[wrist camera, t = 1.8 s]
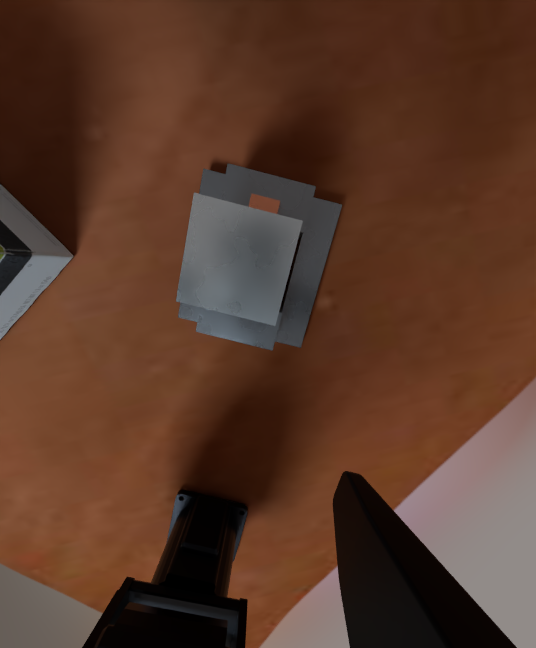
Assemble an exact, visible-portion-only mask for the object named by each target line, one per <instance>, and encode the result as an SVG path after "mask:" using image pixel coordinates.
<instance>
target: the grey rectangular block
mask: <svg viewBox="0 0 536 648" xmlns="http://www.w3.org/2000/svg"><path fill="white" fill-rule="evenodd" d="M302 222H303V221H302V220H298V219H294V218H290V217H286V216H282V215H278V214H275V213H271V212H267V211H263V210H259V209H255V208H251V207H248V206H244V205H240V204H236V203H232V202H228V201H224V200H220V199H217V198H213V197H209V196H205V195H201V194H197V193H194V196H193V202H192V208H191V214H190V220H189V226H188V232H187V238H186V244H185V250H184V256H183V262H182V268H181V274H180V280H179V286H178V292H177V298H176V301H177V302H181V303H185V304H189V305H193V306H197V307H201V308H205V309H209V310H213V311H217V312H221V313H225V314H229V315H233V316H237V317H241V318H245V319H249V320H253V321H257V322H261V323H265V324H269V325H273V326H275V325H276V322H277V318H278V314H279V310H280V306H281V302H282V299H283V295H284V291H285V287H286V283H287V280H288V276H289V272H290V268H291V264H292V260H293V257H294V253H295V249H296V245H297V241H298V238H299V234H300V230H301V226H302Z"/></svg>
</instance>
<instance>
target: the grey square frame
mask: <svg viewBox="0 0 536 648" xmlns="http://www.w3.org/2000/svg"><path fill="white" fill-rule="evenodd" d="M315 189H316V186H313V185H309V184H305V183H301V182H297V181H293V180H290V179H286V178H282V177H278V176H274V175H270V174H267V173H263V172H259V171H255V170H251V169H247V168H244V167H240V166H236V165H232V164H227V170H226V174H222V173H219V172H215V171H211V170H207V169H203V175H202V180H201V186H200V192H199V194H201V195H205V196H209V197H213V198H217V199H220V200H224V201H228V202H232V203H236V204H240V205H244V206H248V207H251V208H255V209H259V210H263V211H267V212H271V213H275V214H278V215H282V216H286V217H290V218H294V219H298V220H302V221H303V222H302V226H301V230H300V234H299V238H300V237H301V238H300V242H299V246H298V250H297V254H296V257H295V261H294V265H293V269H292V272H291V276H290V280H289V284H288V288H287V291H286V295H285V299H284V303H283V307H282V305H281V306H280V310H279V314H278V318H277V322H276V325H275V326H273V325H269V324H265V323H261V322H257V321H253V320H249V319H245V318H241V317H237V316H233V315H229V314H225V313H221V312H217V311H213V310H209V309H205V308H201V307H197V306H193V305H189V304H185V303H180V309H179V315H178V317H179V318H183V319H187V320H191V321H195V322H198V323H197V328H196V332H200V333H204V334H208V335H212V336H216V337H220V338H224V339H228V340H232V341H236V342H240V343H244V344H248V345H252V346H256V347H260V348H264V349H268V350H272V351H273V347H274V343H275V341H276V342H280V343H284V344H288V345H292V346H296V347H300V348H301V345H302V341H303V338H304V334H305V331H306V328H307V324H308V321H309V317H310V314H311V310H312V307H313V304H314V300H315V297H316V293H317V290H318V286H319V283H320V279H321V276H322V273H323V269H324V266H325V262H326V259H327V255H328V252H329V249H330V245H331V242H332V238H333V235H334V231H335V228H336V225H337V221H338V218H339V214H340V211H341V207H342V204H338V203H334V202H330V201H326V200H322V199H318V198H315V197H313V196H314V192H315ZM299 238H298V239H299Z"/></svg>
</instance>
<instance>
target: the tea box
mask: <svg viewBox="0 0 536 648" xmlns="http://www.w3.org/2000/svg"><path fill="white" fill-rule="evenodd" d="M72 258H73V255H72V254H71V253H70V252H69V251H68V250H67V249H66V247H65V246H64V245H63V244H62V243H61V242H60V241H58V240H57V239H56V238H55V237H54V236H53V235H52V234H51V233H50V232H49V231H48V230H47V229H46V228H45V227H44V226H43V225H42V224H41V223H40V222H39V221H38V220H37V219H36V218H35V217H34V216H33V215H32V214H31V213H30V212H29V211H28V210H27V209H26V208H25V207H24V206H23V205H22V204H21V203H20V202H19V201H18V200H17V199H16V198H14V197H13V196H12V195H11V194H10V193H9V192H8V191H7V190H6V189H5V188H4V187H3V186H2V185H1V184H0V340H1V338H2V337H3V336H4V335H5V334H6V333H7V331H8V330H9V329H10V327H11V326H12V325H13V324H14V323H15V322H16V321H17V320H18V319H19V317H21V316H22V315H23V314H24V313H25V312H26V311H27V310H28V308H29V307H30V306H31V305H32V304H33V302H34V301H35V299H36V298H37V297H38V296H39V295H40V294H41V293H42V291H43V290H44V289H46V288H47V287H48V286H49V285H50V284H51V282H52V281H53V280H54V279H55V278H56V277H57V276H58V274H59V273H60V271H61V270H62V269H63V268H64V267H65V266H66V265H67V264H68V262H69V261H70V260H71V259H72Z"/></svg>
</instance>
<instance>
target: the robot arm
mask: <svg viewBox="0 0 536 648" xmlns="http://www.w3.org/2000/svg"><path fill="white" fill-rule="evenodd" d="M247 513H248V507H247V506H246V505H244V504H240V503H236V502H231V501H227V500H223V499H219V498H215V497H210V496H206V495H202V494H198V493H193V492H189V491H185V490H180V491H179V492H178V494H177V496H176V500H175V504H174V509H173V514H172V519H171V524H170V529H169V534H168V539H167V544H166V546H165V549H164V551H163V554H162V556H161V559H160V561H159V564H158V566H157V569H156V571H155V574H154V576H153V579H152V581H151V583H148V582H143V581H138V580H135V578H132V577H126V579H125V581H124V582H123V584H122V586H121V587H120V589H119V590H117V591H116V593H115V595H114V596H113V598H112V600H111V601H110V603H109V604H108V606H107V608H106V609H105V611H104V613H103V614H102V616H101V618H100V619H99V621H98V623H97V624H96V626H95V628H94V629H93V631H92V633H91V634H90V636H89V637H88V639H87V641H86V642H85V644H84V646H83V647H82V648H245V639H246V620H247V599H243V598H240V600H238V599H233V598H228V597H227V595H228V588H229V582H230V575H231V569H232V562H233V561H234V559H235V555H236V552H237V548H238V545H239V541H240V538H241V534H242V531H243V527H244V524H245V520H246V517H247ZM333 514H334V526H335V539H336V551H337V563H338V574H339V583H340V590H341V596H342V602H343V607H344V614H345V620H346V625H347V632H348V638H349V644H350V648H517V647H516V646H515V645H514V644H513V643H512V642H511V641H510V639H508V637H507V636H506V635H505V634H504V633H503V632H502V631H501V630H500V628H499V627H498V626H497V625H496V624H495V623H494V622H493V621H492V620H491V618H490V617H489V616H488V615H487V614H486V613H485V612H484V611H483V610H482V609H481V607H480V606H479V605H478V604H477V603H476V602H475V601H474V600H473V598H472V597H471V596H470V595H469V594H468V593H467V592H466V591H465V590H464V588H463V587H462V586H461V585H460V584H459V583H458V582H457V581H456V580H455V578H454V577H453V576H452V575H451V574H450V573H449V572H448V571H447V570H446V569H445V567H444V566H443V565H442V564H441V563H440V562H439V561H438V560H437V559H436V557H435V556H434V555H433V554H432V553H431V552H430V551H429V550H428V549H427V547H426V546H425V545H424V544H423V543H422V542H421V541H420V540H419V539H418V537H417V536H416V535H415V534H414V533H413V532H412V531H411V530H410V529H409V527H408V526H407V525H406V524H405V523H404V522H403V521H402V520H401V519H400V517H399V516H398V515H397V514H396V513H395V512H394V511H393V510H392V509H391V507H390V506H389V505H388V504H387V503H386V502H385V501H384V500H383V499H382V497H381V496H380V495H379V494H378V493H377V492H376V491H375V490H374V489H373V487H372V486H371V485H370V484H369V483H368V482H367V481H366V480H365V479H364V478H363V477H362V476H361V475H360V474H358V473H353V472H349V471H345V472H343V474H342V476H341V478H340V481H339V483H338V486H337V489H336V491H335V494H334V497H333Z"/></svg>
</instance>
